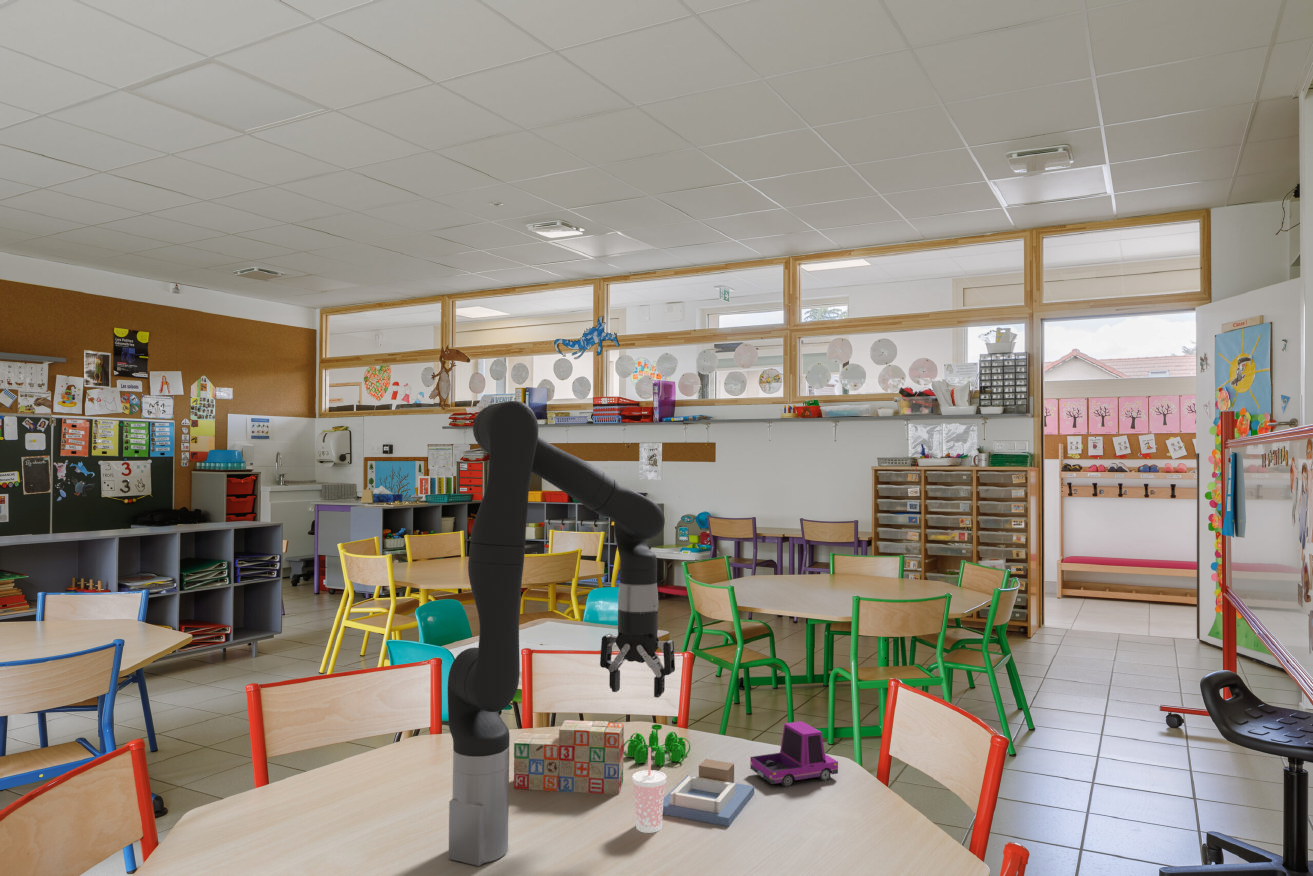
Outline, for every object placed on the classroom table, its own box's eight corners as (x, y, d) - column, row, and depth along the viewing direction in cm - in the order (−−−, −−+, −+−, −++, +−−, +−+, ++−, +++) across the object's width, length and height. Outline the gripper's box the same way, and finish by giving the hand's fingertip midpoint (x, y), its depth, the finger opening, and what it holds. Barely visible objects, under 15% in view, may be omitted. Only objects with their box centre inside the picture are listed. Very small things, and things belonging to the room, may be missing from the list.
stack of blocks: (512, 790, 166) (513, 727, 166) (521, 778, 172) (521, 717, 172) (619, 795, 164) (620, 731, 164) (624, 782, 170) (624, 721, 170)
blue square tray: (728, 826, 150) (729, 795, 150) (656, 813, 155) (657, 783, 155) (754, 794, 164) (754, 765, 165) (687, 782, 170) (687, 755, 170)
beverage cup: (650, 838, 145) (651, 756, 145) (624, 827, 149) (625, 748, 149) (673, 826, 150) (673, 747, 150) (647, 816, 154) (648, 739, 154)
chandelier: (608, 759, 184) (608, 727, 184) (650, 741, 195) (651, 711, 196) (663, 775, 174) (663, 742, 175) (703, 755, 186) (704, 724, 186)
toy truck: (840, 781, 172) (840, 732, 172) (774, 792, 166) (774, 741, 166) (811, 763, 182) (811, 717, 182) (748, 773, 176) (748, 725, 176)
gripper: (595, 607, 156) (593, 694, 156) (666, 613, 151) (665, 703, 151) (611, 601, 163) (610, 685, 163) (680, 606, 158) (679, 693, 157)
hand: (636, 693), depth 157 cm, fingers open, 8 cm apart
